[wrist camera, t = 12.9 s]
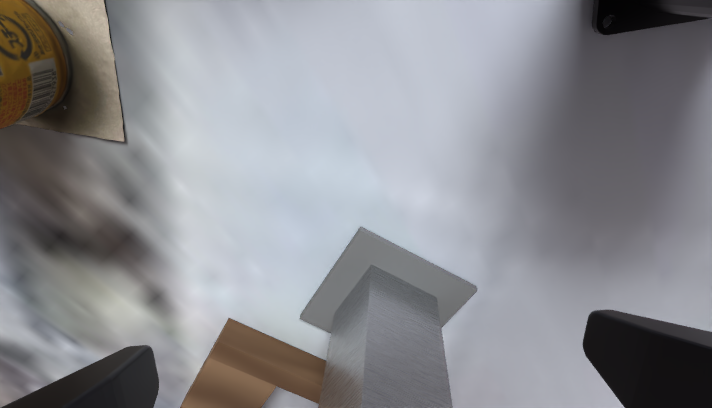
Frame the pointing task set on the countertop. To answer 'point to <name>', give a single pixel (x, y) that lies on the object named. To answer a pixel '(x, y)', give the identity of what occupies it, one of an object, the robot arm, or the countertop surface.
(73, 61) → the condiment
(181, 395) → the countertop surface
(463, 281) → the pad
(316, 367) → the brown flat board
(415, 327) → the brushed metal block
